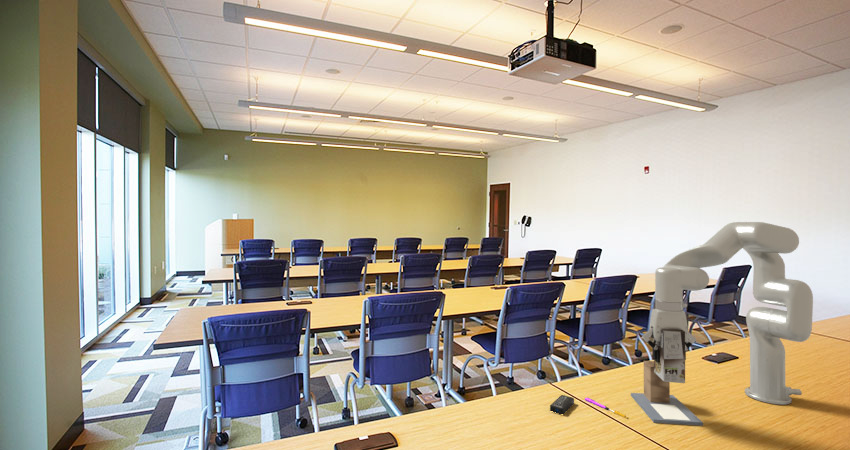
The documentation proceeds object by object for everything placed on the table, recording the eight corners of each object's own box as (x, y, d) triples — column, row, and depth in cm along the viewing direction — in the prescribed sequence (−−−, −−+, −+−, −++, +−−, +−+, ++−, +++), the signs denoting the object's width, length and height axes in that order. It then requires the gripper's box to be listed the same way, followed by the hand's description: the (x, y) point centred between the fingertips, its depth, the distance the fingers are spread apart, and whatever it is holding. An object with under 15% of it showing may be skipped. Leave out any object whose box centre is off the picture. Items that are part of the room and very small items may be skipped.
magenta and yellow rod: (584, 400, 141) (626, 420, 127) (584, 397, 141) (627, 416, 127) (588, 400, 143) (631, 419, 129) (589, 397, 143) (632, 416, 129)
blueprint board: (673, 397, 143) (672, 361, 143) (703, 425, 123) (702, 383, 123) (630, 395, 145) (630, 359, 145) (653, 422, 125) (653, 380, 125)
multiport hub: (574, 404, 139) (574, 397, 139) (562, 416, 130) (562, 409, 130) (561, 401, 141) (561, 394, 141) (549, 412, 133) (549, 405, 133)
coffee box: (686, 383, 125) (686, 331, 125) (663, 382, 126) (663, 330, 126) (674, 373, 134) (674, 324, 134) (653, 371, 135) (652, 323, 135)
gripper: (692, 304, 132) (692, 359, 132) (635, 303, 135) (635, 356, 135) (704, 309, 125) (704, 367, 125) (644, 307, 127) (644, 364, 127)
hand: (668, 361), depth 130 cm, fingers closed on coffee box, 6 cm apart
